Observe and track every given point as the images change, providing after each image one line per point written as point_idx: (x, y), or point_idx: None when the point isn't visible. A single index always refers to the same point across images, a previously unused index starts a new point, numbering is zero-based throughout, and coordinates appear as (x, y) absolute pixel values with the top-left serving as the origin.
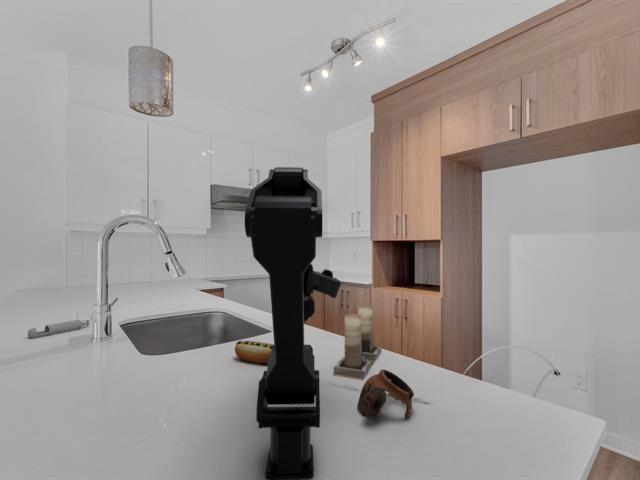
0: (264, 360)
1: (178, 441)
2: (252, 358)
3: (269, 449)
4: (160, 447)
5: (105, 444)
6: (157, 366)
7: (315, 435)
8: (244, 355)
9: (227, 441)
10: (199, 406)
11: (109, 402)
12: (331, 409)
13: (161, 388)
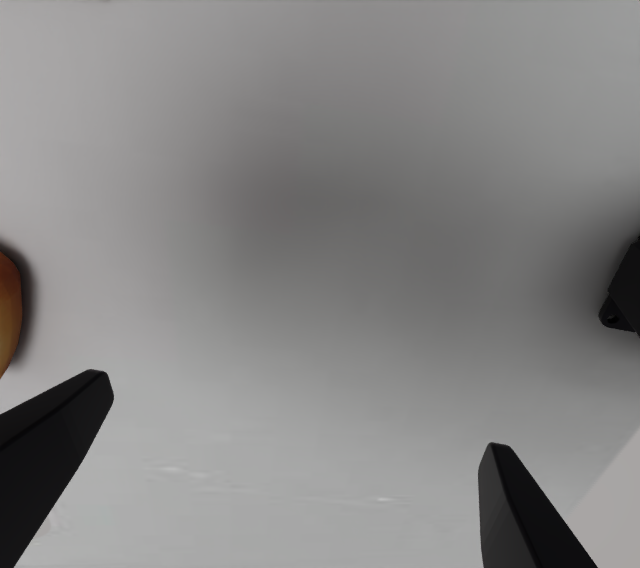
0: (17, 297)
1: (462, 482)
2: (16, 334)
3: (619, 329)
4: (475, 505)
5: (432, 562)
6: (103, 508)
7: (580, 168)
8: (7, 360)
9: (502, 405)
10: (309, 447)
11: (275, 562)
12: (400, 60)
13: (215, 503)
